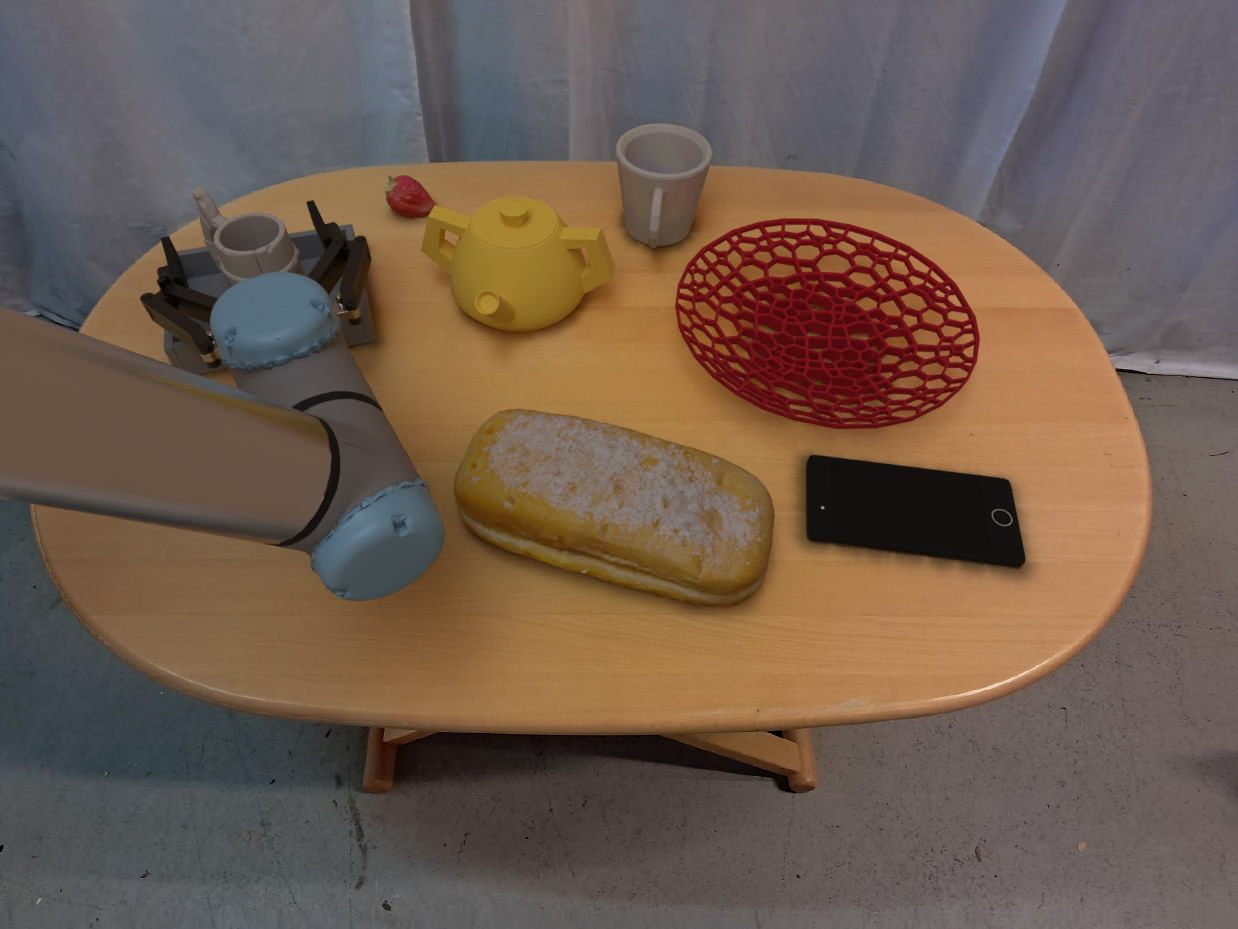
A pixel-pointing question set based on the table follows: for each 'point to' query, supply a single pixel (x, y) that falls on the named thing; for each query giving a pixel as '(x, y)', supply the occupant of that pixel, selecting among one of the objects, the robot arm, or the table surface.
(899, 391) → the bowl
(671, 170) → the mug
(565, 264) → the teapot
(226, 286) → the tray
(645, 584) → the bread
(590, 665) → the table surface
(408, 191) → the fruit
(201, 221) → the mug
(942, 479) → the cell phone
